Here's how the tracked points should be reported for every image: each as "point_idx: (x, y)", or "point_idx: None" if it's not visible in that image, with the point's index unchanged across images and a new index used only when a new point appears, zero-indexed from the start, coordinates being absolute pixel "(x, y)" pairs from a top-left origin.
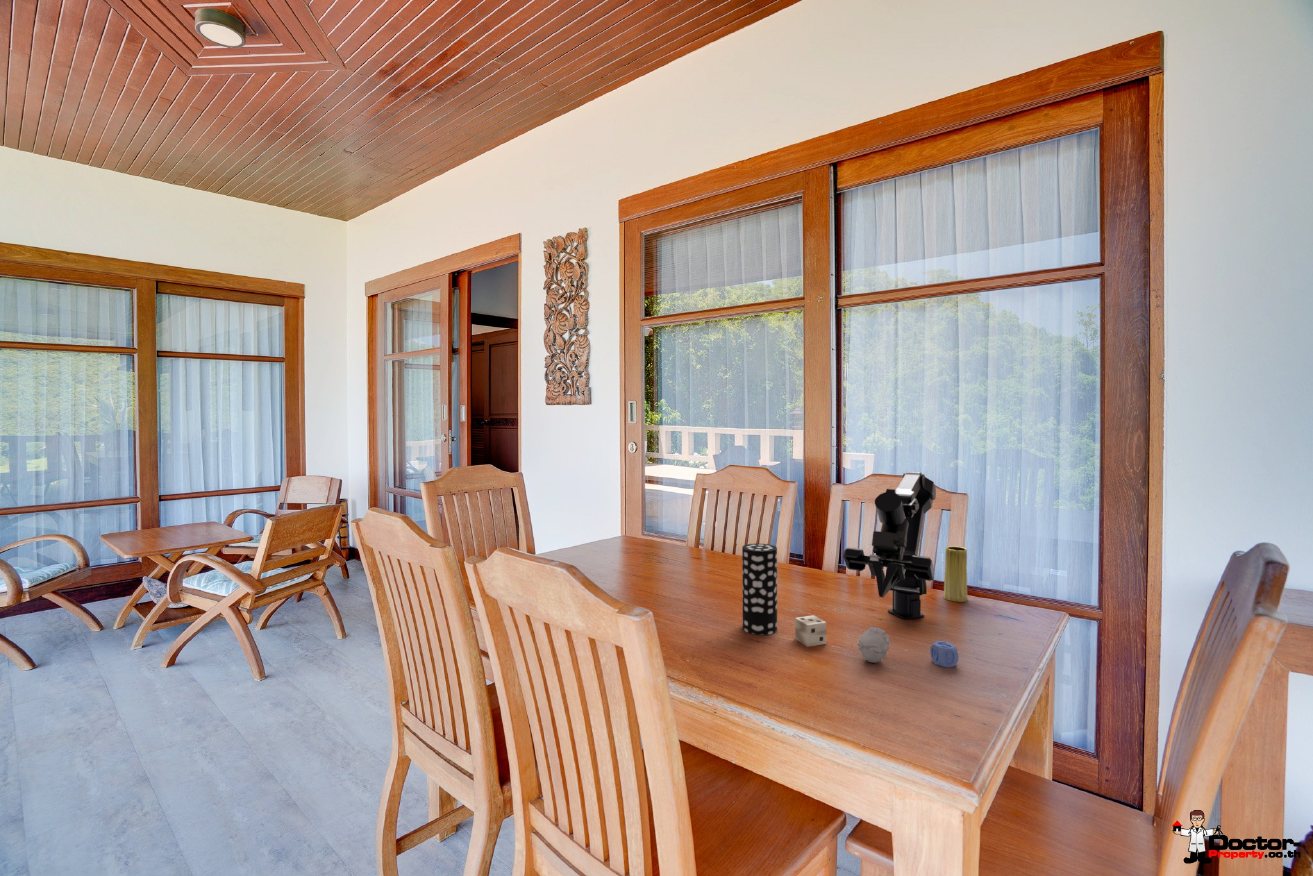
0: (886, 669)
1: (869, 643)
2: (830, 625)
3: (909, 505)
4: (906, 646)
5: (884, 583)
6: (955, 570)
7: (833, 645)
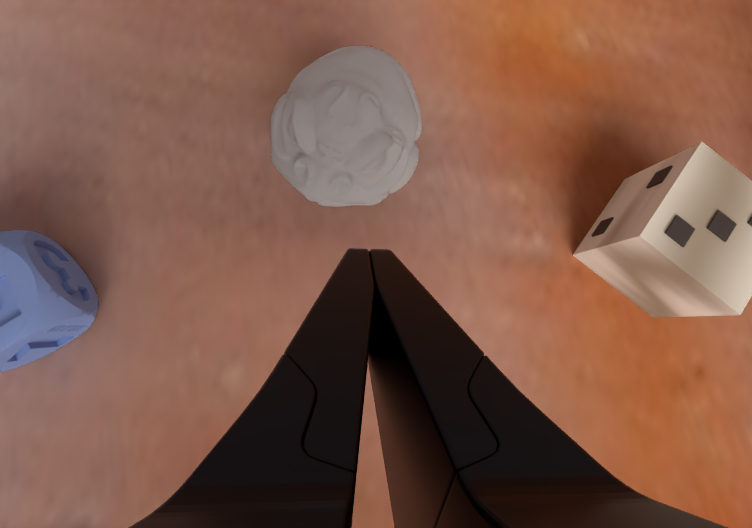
0: None
1: (355, 48)
2: None
3: None
4: None
5: (351, 325)
6: None
7: (539, 250)
